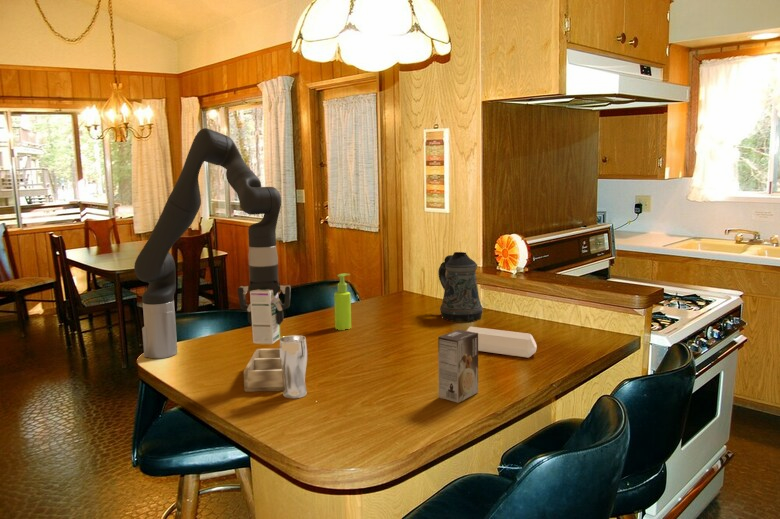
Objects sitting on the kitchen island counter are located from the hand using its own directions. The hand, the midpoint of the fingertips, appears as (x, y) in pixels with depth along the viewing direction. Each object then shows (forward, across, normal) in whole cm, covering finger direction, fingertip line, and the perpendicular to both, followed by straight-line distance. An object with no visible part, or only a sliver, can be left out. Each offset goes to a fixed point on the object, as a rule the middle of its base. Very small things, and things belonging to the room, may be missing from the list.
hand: (266, 324), depth 162 cm
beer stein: (+17, +63, +69) cm, 95 cm away
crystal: (+17, +69, +23) cm, 75 cm away
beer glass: (+17, +8, -9) cm, 21 cm away
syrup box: (+5, 0, 0) cm, 5 cm away
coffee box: (+17, +50, -13) cm, 54 cm away
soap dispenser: (+17, +19, +56) cm, 62 cm away
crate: (+17, 0, +4) cm, 17 cm away
